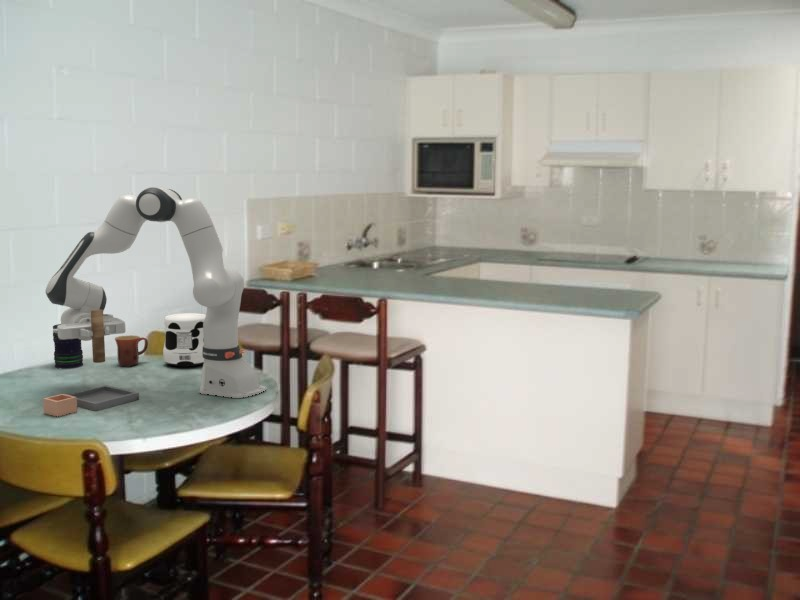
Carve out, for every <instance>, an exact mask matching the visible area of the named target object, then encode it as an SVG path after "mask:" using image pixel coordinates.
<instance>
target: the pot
mask: <svg viewBox="0 0 800 600" xmlns="http://www.w3.org/2000/svg"><path fill="white" fill-rule="evenodd" d="M42 401H43V402H42V403H43V414H45V415H48V416H49V415H50V416H52V415H53V417H56V416H57V418H58V416H59V417H62V415H63V416H66V414H67V415H70V414H69V413H71V414H74V412H75V413H78V406H77V397H74V396H70V395H67V394H66V393H61V394H56V395H52V396H48V397H45V398H44V397H43V398H42Z"/></svg>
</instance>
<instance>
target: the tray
mask: <svg viewBox="0 0 800 600" xmlns="http://www.w3.org/2000/svg"><path fill="white" fill-rule="evenodd" d="M66 395H70V396H74V397H77V408H78V407H79V408H83V409H86V410H91V411H95V412H96V411H101V410H104V409H108V408H112V407H115V406H119V405H123V404H127V403H130V402H134V401H138V400H140V396H139V395H140V393H139V392H137V391H134V390H129V389H124V388H119V387H115V386H111V385H105V384H104V385H102V386H97V387H94V388H93V387H92V388H89V389H84V390H80V391H76V392H72V393H68V394H66Z"/></svg>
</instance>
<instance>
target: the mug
mask: <svg viewBox="0 0 800 600" xmlns="http://www.w3.org/2000/svg"><path fill="white" fill-rule="evenodd" d="M142 340H144V347H143V348H142V350H140V351H139V343H140V342H141V341H142ZM114 341H115V343H116V346H117V356H116V357H117V364H118V365H119V366H120V367H124V366H129V367H135V366H137V365H138V364H139V358H140V356H141V355H142V354H144V353H146V351H147V349H148V346H149V341H148V339H147V338H146V337H140V336H139V335H120V336H119V335H118V336H116V337H114ZM134 365H135V366H134Z"/></svg>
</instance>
